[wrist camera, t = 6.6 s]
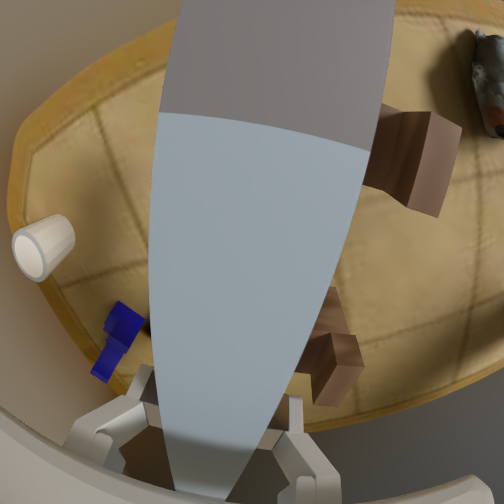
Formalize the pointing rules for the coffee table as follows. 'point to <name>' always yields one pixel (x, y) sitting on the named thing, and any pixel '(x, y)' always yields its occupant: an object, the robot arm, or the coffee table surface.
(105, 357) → the cable clip
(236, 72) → the bed rail
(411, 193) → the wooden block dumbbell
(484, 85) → the lucky cat figurine
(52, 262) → the shot glass
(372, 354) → the coffee table surface
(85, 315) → the coffee table surface
